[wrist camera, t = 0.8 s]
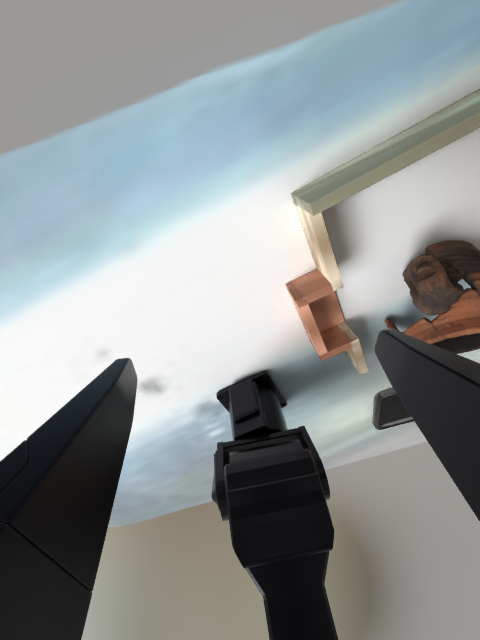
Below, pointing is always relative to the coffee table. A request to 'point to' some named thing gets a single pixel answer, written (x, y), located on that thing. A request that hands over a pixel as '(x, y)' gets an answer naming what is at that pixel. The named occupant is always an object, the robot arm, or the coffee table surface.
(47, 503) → the robot arm
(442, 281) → the pottery mug
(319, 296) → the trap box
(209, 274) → the coffee table surface
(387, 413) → the phone
